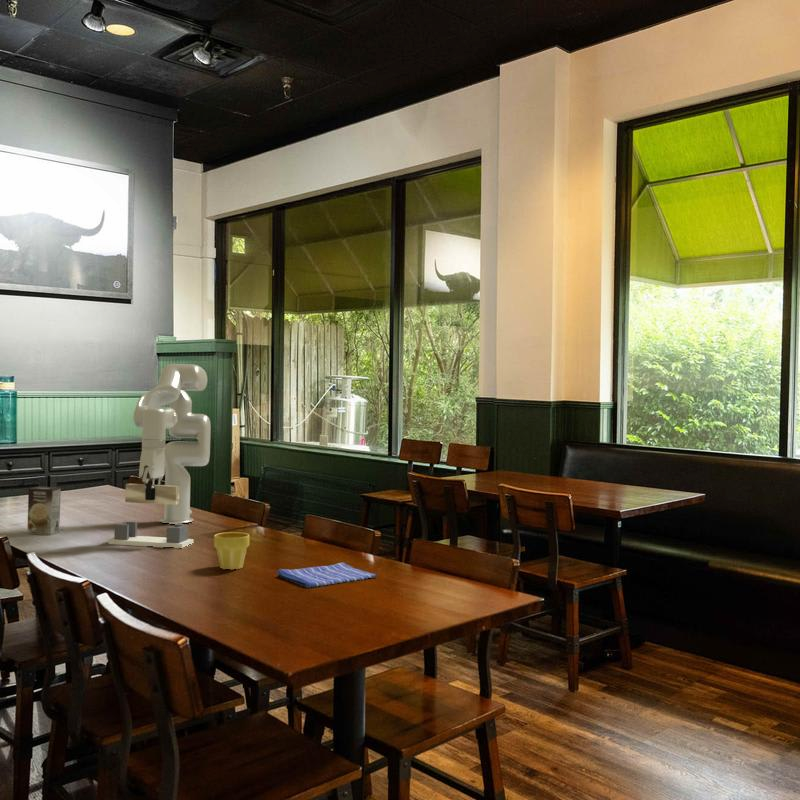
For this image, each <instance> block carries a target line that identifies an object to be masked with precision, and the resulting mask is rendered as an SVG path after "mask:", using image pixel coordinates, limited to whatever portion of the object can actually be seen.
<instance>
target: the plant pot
mask: <svg viewBox="0 0 800 800" xmlns="http://www.w3.org/2000/svg"><path fill="white" fill-rule="evenodd" d="M250 542H251V541H250V534H249V533H246V532H238V531H237V532H236V531H235V532H233V531H229V532H219V533H216V534H214V535H213V546H214V548H216V553H217V560H218V564H219V568H220V569H221V568H222V570H225V569H230V570H229V571H233V570H234V569H236V570H241V569H242V568H243V567H244V562H245V558H246V554H247V549H248V547H249V546H250ZM234 571H235V570H234Z"/></svg>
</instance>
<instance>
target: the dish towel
mask: <svg viewBox="0 0 800 800" xmlns="http://www.w3.org/2000/svg"><path fill="white" fill-rule="evenodd" d="M276 573H277V576H278V577H279V576H280V577H279V578H281V577H282V578H281V579H283V578H284V580H286V581H288V580H289V581H288V582H291V583H293V582H294V584H296V585H298V584H299V586H301V587H303V586H304V587H303V588H305V587H306V588H305V589H311V587H312V588H319V587H318V586H320V587H325V586H324V585H328V586H331V585H330V584H334V585H338V584H337V583H341V584H344V583H343V582H347V583H351V582H350V581H354V582H358V581H357V580H360V581H365V580H364V579H366V580H369V579H368V578H371V579H373V578H374V579H375V578H376V577H377V574H376V573H373V572H372V573H371V572H368V571H365V570H362V569H359V568H355V567H353V566H351V565H349V564H346V562H339V563H335V564H329V565H321V566H312V567H305V568H297V569H296V568H295V569H287V568H286V569H285V568H283V569H282V568H279V570H278V571H276Z"/></svg>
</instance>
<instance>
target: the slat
mask: <svg viewBox="0 0 800 800" xmlns="http://www.w3.org/2000/svg"><path fill="white" fill-rule="evenodd" d="M154 488H155V500H146V499H145V490H146V488H145V483H125V497H124V498H125V499H124V500H125V501H124V502H125V503H132V504H133V503H135V504H152V505H153V504H155V505H165V504H171V505H177V504H179V486H170V485H165V484H160V485H154Z"/></svg>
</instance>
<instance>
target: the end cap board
mask: <svg viewBox="0 0 800 800" xmlns="http://www.w3.org/2000/svg"><path fill="white" fill-rule="evenodd" d="M192 543H193V544H194V539H193V538H189V524H175V525H173V526H167V527H166V537H164V536H163V537H161V536H149V535H148V536H146V535H138V521H129V520H127V521H126V520H124V521H121V522H117V523H115V524H114V537H112V538H108V545H117V546H118V545H119V546H134V547H147V546H153V547H152V548H163V547H174V548H173V549H179V548H183V547H185V546H187V547H189V546H190V545H189V544H191V545H193V544H192ZM188 545H189V546H188ZM185 548H186V547H185ZM183 549H184V548H183Z"/></svg>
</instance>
